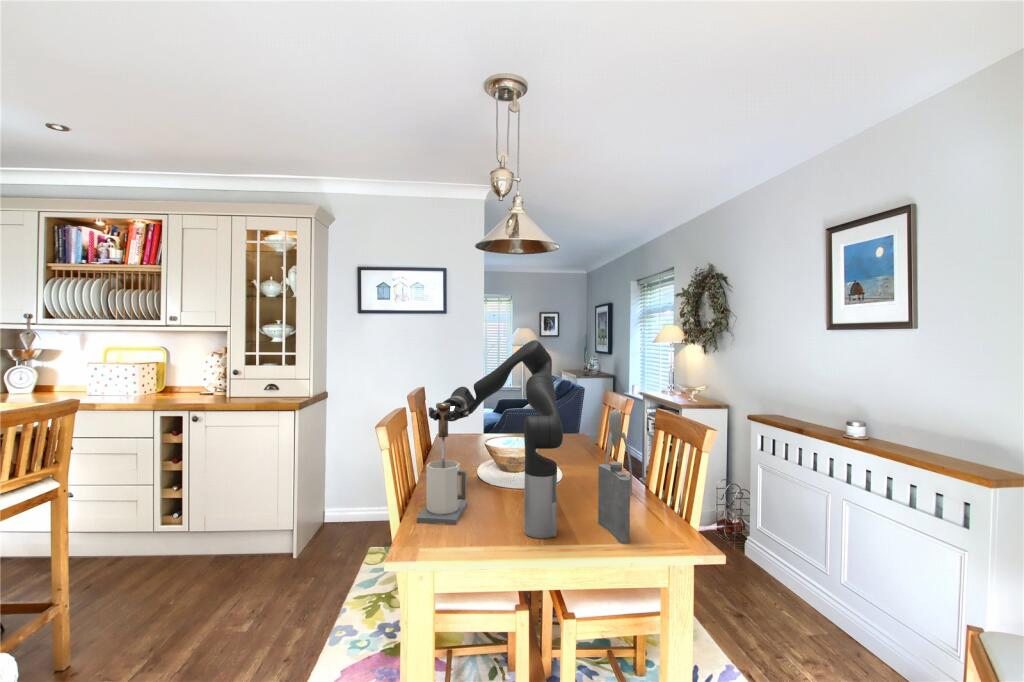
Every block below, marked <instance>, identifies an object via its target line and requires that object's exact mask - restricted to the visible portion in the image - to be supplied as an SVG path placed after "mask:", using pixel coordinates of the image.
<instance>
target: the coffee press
mask: <svg viewBox="0 0 1024 682" xmlns="http://www.w3.org/2000/svg"><path fill="white" fill-rule="evenodd" d="M425 471H426V472H425V473H426V476H425V477H426V481H425V482H426V485H425V486H426V491H425V492H426V505H425V507H424V508H423V509H422V510H421V512H420V513H419V514H418V515H417V517H416V523H417V522H427V523H426V524H433V523H446V524H445V525H452V524H456V523H457V524H458V522H459V521H460V519H461V517H462V516H463V514H462V513H465V510H466V509H467V508H468V500H467V492H468V491H467V487H468V486H467V485H468V484H467V482H468V481H467V470H461V464H460V462H457V461H455V460H448V459H445V469H442V459H440V460H434V461H433V460H432V461H430V462H428V464H426V470H425ZM460 479H461V481H460ZM460 482H461V483H460ZM460 484H461V488H460ZM460 491H461V493H460ZM465 508H466V509H465ZM461 515H462V516H461ZM459 518H460V519H459ZM458 520H459V521H458ZM457 524H456V525H457Z"/></svg>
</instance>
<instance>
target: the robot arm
mask: <svg viewBox="0 0 1024 682" xmlns="http://www.w3.org/2000/svg"><path fill="white" fill-rule="evenodd" d="M520 363H523V365H525V367H526V368H527V369H528V371H529V372H530V374H531V376H530V377H529V378H528V380H527V381H526V384H525V396H526V400H527V403H528V404H529V406H530V407H531V408H532V409H533V410H534V411H535V412H536V413H538V414H540V415H528V416H527V417H526V418H525V420H524V422H523V423H524V424H523V441H524V490H523V491H524V499H523V500H524V503H523V504H524V506H523V507H524V509H523V510H524V512H523V513H524V516H523V518H524V520H523V526H524V527H523V529H524V530H523V532H524V534H525V535H526V536H528V537H531V538H536V539H547V538H548V539H549V538H553V537H554V538H555V537H556V538H557V535H558V532H557V531H558V496H557V495H558V464H557V462H556V461H554V460H553V459H551V458H548V457H546V456H544V455H541V454H540V453H538V452H537V449H539V450H544V449H545V450H551V449H552V450H553V449H558V448H560V447H561V445H562V444H563V440H564V430H563V424H562V421H561V417H560V414H559V410H558V405H557V397H556V390H555V384H554V381H553V378H554V377H553V374H552V373H553V372H552V370H553V369H552V368H553V359H552V356H551V354H549V352H548V351H547V350H546V348H545V347H544V346H543V344H542V343H541V342H540V341H539V340H537V339H534V340H531V341H530V340H529V341H528V342H527V343H525V344H524V345H522V346H520V348H518V349H517V350H516V351H515V352H513V354H511V355H510V356H509V357H508V358H506V359H505V361H503V362H502V363H501V364H500V365H499V366H498V367H497V368H495V369H494V370H493V371H491V372H490V373H489V374H487V375H485V376H484V377H482V378H480V379H479V380H477V381H476V382H474V384H473V391H474V393H475V397H474V396H473V394H472V392H471V391H470V389H469V388H467V387H466V386H459V387H458V388H456V389H454V391H453V392H452V393H451V395H450V397H449V398H447V399H446V400H444V401H443V402H442V403H450V408H448V413H446V421H448V422H456V421H458V420H459V419H463V418H468V417H469V416H470V415H471V414H473V413H474V412H475V411H476V409H478V408H479V406H480V405H481V404H482V403H483V402H484V401H485V400H486V399H488V398H489V397H491V396H493V395H494V394H495V393H497V392H499V391H500V390H501V389H502V388H504V386H505V384H506V383H507V381H508V378H509V376H510V374H511V373H512V370H513V369H514V368H515V367H516V366H517V365H518V364H520ZM428 417H429V418H430V419H433V421H438V408H436V409H435V408H434V407H428Z"/></svg>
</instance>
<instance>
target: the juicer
mask: <svg viewBox="0 0 1024 682" xmlns="http://www.w3.org/2000/svg"><path fill="white" fill-rule="evenodd" d="M608 417H609V418H608V427H609V432H608V436H607V443H606V444H607V445H606V453H605V454H606V455H605V464H607V465H609V463H610V453H611V446H613V449H614V450H616V447H617V446H618V443H619V439H622V441H623V442H624V445H625V449H626V453H627V459H628V460H627V461H628V469H629V470H628V471H629V478H630V497H633V471H632V468H633V467H632V460H631V452H630V448H629V447H630V446H629V443H628V438H627V436H626V433H625V432H624V431H623V432H622V433H621V429H622V414H621V412H620V411H619V410H618V409H616V408H614V409H612V410H611V411H610V413H609V416H608Z"/></svg>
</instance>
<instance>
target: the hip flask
mask: <svg viewBox="0 0 1024 682" xmlns="http://www.w3.org/2000/svg"><path fill="white" fill-rule="evenodd" d="M622 467H623V462H622V461H621V462H620V461H609V464H608V465H607V464H606V463H601V464H598V477H597V478H598V479H597V480H598V485H597V486H598V490H597V491H598V493H597V505H598V506H597V524H598V526H599V525H600V526H601V527H603V528H604V529H605V530H607V532H609V533H610V534H611V535H612V536H613V537H614V538H615V539H616V541H617V543H619V544H622V545H628V544H629V543H630V540H631V539H630V538H631V537H630V535H631V534H630V533H631V529H630V528H631V526H630V525H631V496H630V476H629V475H628V474H626V473H625V472H624V471H623V468H622Z"/></svg>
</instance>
